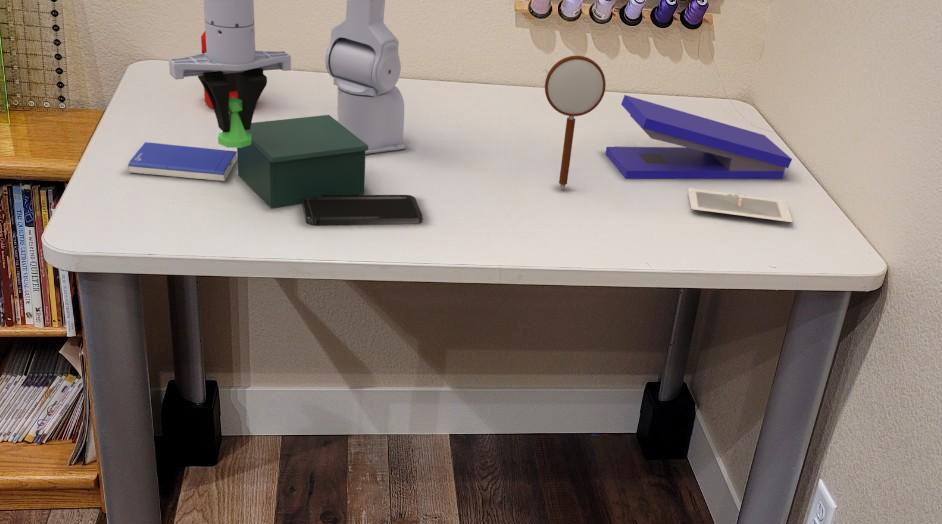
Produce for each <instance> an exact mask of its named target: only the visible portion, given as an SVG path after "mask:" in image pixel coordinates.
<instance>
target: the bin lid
mask: <svg viewBox="0 0 942 524" xmlns="http://www.w3.org/2000/svg"><path fill="white" fill-rule="evenodd" d="M246 131H247V133H249V134H251V136H252V142H251V143H252V144H253V145H254V146H255V147H256V148H257V149H258V150H259V151H260V152H261V153H263V154H264V155H265V156H266V157H267V158H268V159H269V160H270V161H271V162H272V163H273V162H281V161H289V160H297V159H305V158H312V157H320V156H328V155H336V154H344V153H352V152H359V151H367V150H368V145H367V144H365V143H364V142H363V141H362V140H360V139H359V138H358V137H357V136H355V135H354V134H353V133H351V132H350V131H349V130H348V129H346V128H345V127H344V126H343V125H341V124H340V123H339V122H337V119H335V118H334V117H332V116H331V115H330V114H324V115H323V114H322V115H314V116H304V117H293V118H285V119H275V120H266V121H256V122H251V128H250V130H246Z"/></svg>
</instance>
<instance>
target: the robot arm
mask: <svg viewBox="0 0 942 524" xmlns="http://www.w3.org/2000/svg"><path fill="white" fill-rule="evenodd" d="M254 1H255V0H203V14H204V15H203V16H204V32H205V33H206V50H207V53H202V52H201V53H197V54H193V55H187V56H183V57H176V58H169V59H168V65H169V75H170V76H171V77H172V78H173V79H174V80H183V79H185V78H189V77H197V78H198V79H199V81H200V83H201V85H202V87H203V89H204V88H205V90H206V92H207V94H208V96H209V98H210V101H211V103H212V106H213V108H214V109H213V111H214V114H215V118H216V121H217V126H218V129H220V130H221V131H222V132H230V118H229V113H230V112H229V94H230V87H231V85H229V84H228V83H227V82H226V78H225V77H224V76H223V74H227V73H234V75H235V80H236V86H237V94H238V99H240V100H242V111H239V112H238V114H239V116H240V118H241V120H242V122H243V126H244V129H245V130H250V128H251V123H253V117H254V114H255V110H256V106H257V104H258V101H259V100H260V97H261V95H262V93H263V92H264V90H265V89H266V87H267V84H268V76H267V75H266V74H264V72H265V71H275V70H281V71H283V72H287V71H291V70H292V57H291V55H290V54H289V53H288V52H286V51H285V50H281V51H280V50H278V51H273V50H272V51H270V50H256V30H255V29H256V28H255V27H256V26H255V4H254V3H255V2H254ZM385 7H386V0H346V8H345V9H346V10H345V18H344V20H342V21H341V22H340V23H338V24H337V25H335V26H333V28H331V31H330V40H329V43H328V46H327V49H326V53H325V58H324V60H325V62H324V63H325V69H326V71H327V73H328V75H329V76H330V77H331V78H333V85H334V86H337V118H336V121H337V122H339V123H340V124H341V125H343V126H344V127H345V128H346V129H348V130H349V131H350V132H351V133H353V134H354V135H355V136H357V137H358V138H359V139H360V140H362V141H363V142H364V143H365V144H367V145H368V150H367V151H365V155H369V154H377V153H382V152H383V153H384V152H391V151H399V150H404V149H406V145H405V144H404V130H405V129H404V127H405V102H404V97H403V95H402V94H403V93H402V92H401V91H400V89H399V88H398V87H397V86H396V85H397V83H398V81H399V79H400V76H401V72H402V71H401V70H402V67H401V59H400V56H399V43H400V41H399V39H398V38H397V37H396V36H395V34H394V33H393V32H392V31H391V30H390V29H389V28H388V27H387V25H386V24H385V22H384V20H385Z"/></svg>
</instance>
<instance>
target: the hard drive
mask: <svg viewBox="0 0 942 524" xmlns="http://www.w3.org/2000/svg"><path fill="white" fill-rule="evenodd" d="M237 161H238V159H237V150H226V149H217V148H216V149H215V148H208V147H197V146H187V145H177V144H168V143H157V142H147V141H145V142H144V143H143V144H142V145H141V146H140V148H139V149H138V150H137V151H136V153H135V154H134V155H133V156H132V157H131V159H130V160H129V162H128V164H127V168H128V169H127V170H128V173H130V174H132V173H133V174H141V175H143V174H144V175H154V176H164V177H165V176H167V177H176V178H188V179H198V180H209V181H219V182H225V181H226V180H227V178H228V176H229V174H230V173H231V172H232V169H233V167H234V166H235V164H237Z"/></svg>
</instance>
